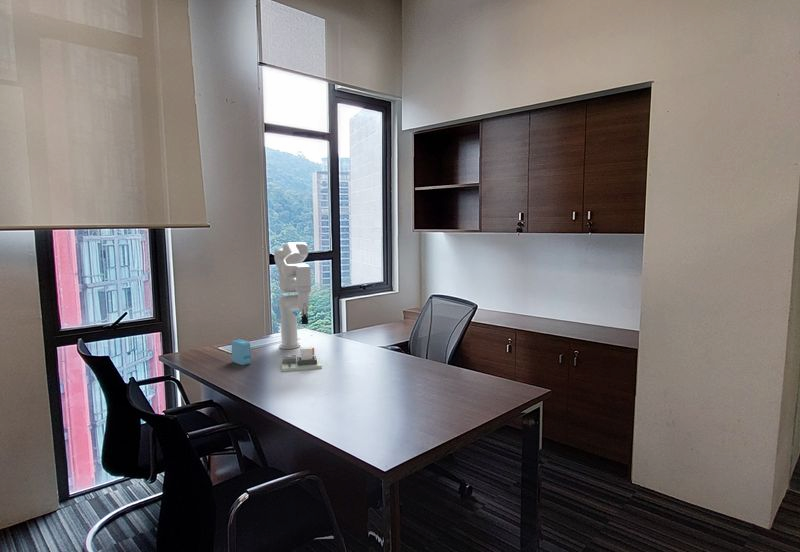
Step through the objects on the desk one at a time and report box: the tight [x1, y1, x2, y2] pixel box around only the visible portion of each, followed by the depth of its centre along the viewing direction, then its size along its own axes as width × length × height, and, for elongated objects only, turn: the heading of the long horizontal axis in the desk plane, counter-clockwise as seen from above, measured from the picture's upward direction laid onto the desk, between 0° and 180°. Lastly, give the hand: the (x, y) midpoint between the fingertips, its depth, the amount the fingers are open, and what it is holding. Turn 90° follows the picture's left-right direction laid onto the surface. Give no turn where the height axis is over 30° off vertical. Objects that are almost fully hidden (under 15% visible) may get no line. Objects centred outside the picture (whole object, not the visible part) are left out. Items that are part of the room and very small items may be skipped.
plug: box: [299, 346, 315, 360], centre depth 252 cm, size 4×7×8 cm, turn 104°
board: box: [281, 354, 323, 373], centre depth 252 cm, size 16×20×5 cm
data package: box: [230, 338, 252, 366], centre depth 259 cm, size 12×4×12 cm, turn 48°
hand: (304, 323), depth 251 cm, fingers closed
